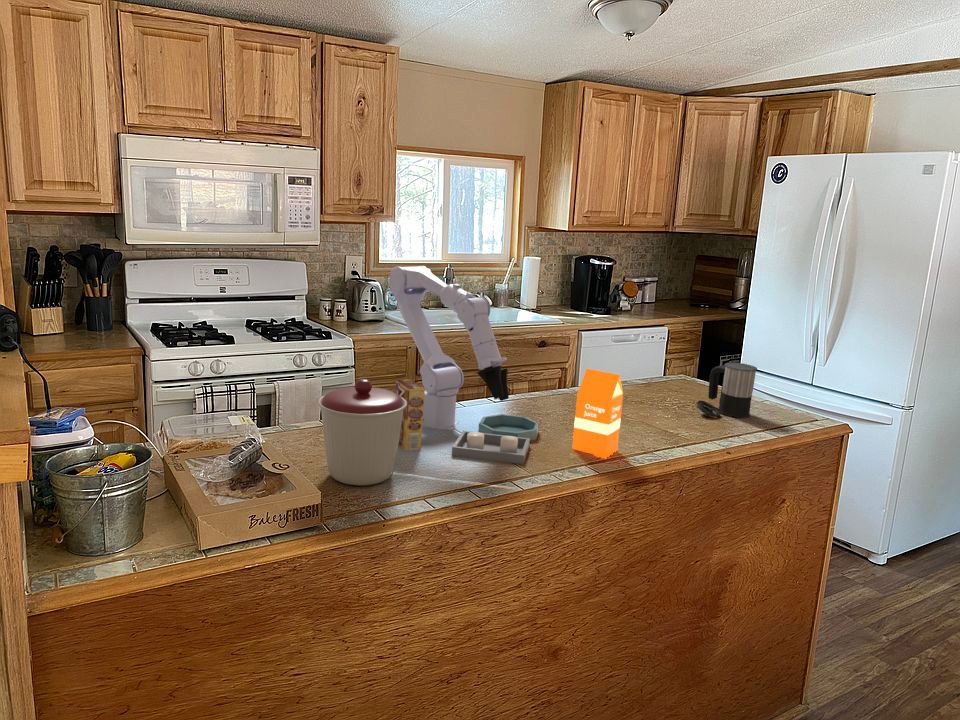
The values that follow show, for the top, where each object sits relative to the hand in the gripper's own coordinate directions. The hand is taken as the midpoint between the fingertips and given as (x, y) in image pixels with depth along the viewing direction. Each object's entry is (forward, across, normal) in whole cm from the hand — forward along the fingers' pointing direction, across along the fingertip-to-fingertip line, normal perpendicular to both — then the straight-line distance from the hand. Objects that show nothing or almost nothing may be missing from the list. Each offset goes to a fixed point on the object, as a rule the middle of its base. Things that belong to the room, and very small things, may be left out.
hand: (501, 398), depth 174 cm
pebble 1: (+9, 0, +10) cm, 13 cm away
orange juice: (+18, +11, -16) cm, 27 cm away
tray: (+11, 0, +6) cm, 13 cm away
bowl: (+8, +15, +3) cm, 17 cm away
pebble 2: (+12, 0, +2) cm, 13 cm away
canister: (+9, -24, +30) cm, 39 cm away
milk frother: (+20, +58, -53) cm, 81 cm away
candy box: (+4, -3, +25) cm, 25 cm away
